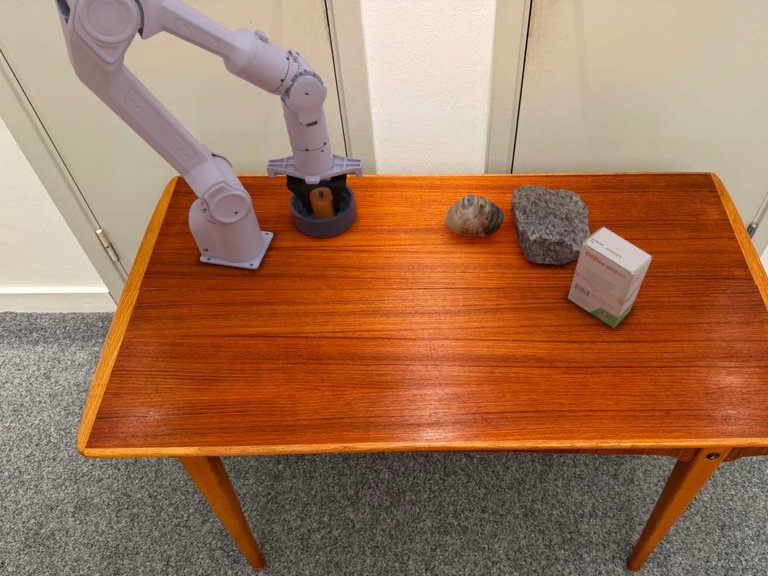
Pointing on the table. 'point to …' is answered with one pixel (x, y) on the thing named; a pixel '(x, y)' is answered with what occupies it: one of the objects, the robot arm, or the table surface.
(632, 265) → the ink box
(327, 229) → the bowl
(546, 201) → the rock
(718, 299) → the table surface
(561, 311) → the table surface
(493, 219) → the seashell
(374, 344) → the table surface
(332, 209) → the squash
